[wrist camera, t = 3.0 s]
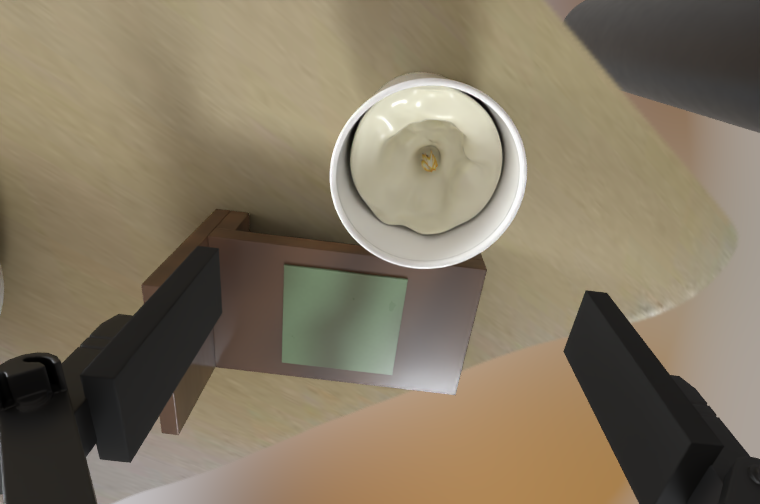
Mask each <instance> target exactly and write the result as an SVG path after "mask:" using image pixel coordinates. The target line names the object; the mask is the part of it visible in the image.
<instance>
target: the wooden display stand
mask: <svg viewBox="0 0 760 504" xmlns="http://www.w3.org/2000/svg"><path fill="white" fill-rule="evenodd" d="M197 246H203V247H212V248H219V260H220V279H221V297H222V314H221V316H220V318H219V319H218V321H217V323H216V324H215V326H214V327H213V329H212V331H211V332H210V334H209V336H208V337H207V339H206V340H205V342H204V344H203V345H202V347H201V349H200V350H199V352H198V353H197V355H196V357H195V358H194V360H193V362H192V363H191V365H190V367H189V368H188V370H187V371H186V373H185V375H184V376H183V378H182V380H181V381H180V383H179V384H178V386H177V388H176V389H175V391H174V393H173V394H172V396H171V397H170V399H169V401H168V402H167V404H166V406H165V407H164V409H163V411H162V412H161V414H160V415H159V416H160V423H161V430H162V433H165V434H174V435H179V433H180V431H181V430H182V428H183V426H184V424H185V422H186V420H187V418H188V417H189V415H190V413H191V411H192V409H193V407H194V405H195V404H196V402H197V400H198V398H199V396H200V394H201V392H202V391H203V389H204V387H205V385H206V383H207V381H208V379H209V378H210V376H211V374H212V372H213V370H214V368H215V366H216V367H219V368H228V369H236V370H245V371H254V372H262V373H271V374H279V375H288V376H297V377H305V378H314V379H322V380H331V381H340V382H348V383H357V384H365V385H374V386H383V387H391V388H400V389H408V390H417V391H426V392H435V393H443V394H452V395H455V394H456V391H457V386H458V383H459V379H460V375H461V371H462V367H463V363H464V359H465V355H466V351H467V347H468V343H469V339H470V335H471V331H472V327H473V323H474V319H475V315H476V311H477V307H478V303H479V299H480V295H481V291H482V287H483V283H484V280H485V276H486V272H487V269H486V266H485V263H484V261H483V258H482V255H481V253H479V254H478V255H476V256H474V257H472V258H470V259H468V260H466V261H463V262H461V263H458V264H455V265H451V266H447V267H442V268H433V269H417V268H409V267H404V266H399V265H396V264H393V263H390V262H387V261H385V260H383V259H381V258H379V257H377V256H375V255H374V254H372V253H370V252H369V251H368V250H366V249H365V248H364V247H362V246H360V245H352V244H344V243H336V242H327V241H319V240H311V239H303V238H294V237H286V236H278V235H270V234H261V233H253V232H250V229H249V213H246V212H237V211H229V210H221V209H216V210H215V211H214V212H213V213H212V214H211V215H210V216H209V217H208V218H207V219H206V220H205V221H204V222H203V223H202V224H201V225H200V226H199V227H198V228H197V229H196V230H195V231H194V232H193V233H192V234H191V235H190V236H189V237H188V238H187V239H186V240H185V241H184V242H183V243H182V244H181V245H180V246H179V247H178V248H177V249H176V250H175V251H174V252H173V253H172V254H171V255H170V256H169V257H168V258H167V259H166V260H165V261H164V262H163V263H162V264H161V265H160V266H159V267H158V268H157V269H156V270H155V271H154V272H153V273H152V274H151V275H150V276H149V277H148V278H147V279H146V280H145V282H144V283H143V284H142V285H141V286H142V293H143V300H144V304H145V302H146V301H147V300H148V299H149V298H150V297H151V296H152V295H153V294H154V293H155V291H156V290H157V289H158V288H159V287H160V286H161V285H162V284H163V283H164V282H165V281H166V279H167V278H168V277H169V276H170V275H171V274H172V273H173V272H174V271H175V270H176V268H177V267H178V266H179V265H180V264H181V263H182V262H183V261H184V260H185V259H186V257H187V256H188V255H189V254H190V253H191V252H192V251H193V250H194V249H195V248H196V247H197Z"/></svg>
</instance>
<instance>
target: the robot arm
mask: <svg viewBox="0 0 760 504" xmlns="http://www.w3.org/2000/svg"><path fill="white" fill-rule="evenodd" d="M221 314H222V297H221V279H220V260H219V248H212V247H203V246H197V247H196V248H195V249H194V250H193V251H192V252H191V253H190V254H189V255H188V256H187V257H186V259H185V260H184V261H183V262H182V263H181V264H180V265H179V266H178V267H177V268H176V270H175V271H174V272H173V273H172V274H171V275H170V276H169V277H168V278H167V279H166V281H165V282H164V283H163V284H162V285H161V286H160V287H159V288H158V289H157V290H156V291H155V293H154V294H153V295H152V296H151V297H150V298H149V299H148V300H147V301H146V302H145V304H144V305H143V306H142V307H141V308H140V309H139V310H138V311H137V312H136V313H135V315H134V316H131V315H122V314H118V315H116V316H114V317H113V318H111V319H109V320H107V321H105V322H103V323H102V324H101V325H100V326H99V327H98V328H97V329H96V330H95V331H94V332H93V333H92V334H91V335H90V337H89V338H87V339H86V340H85V341H84V342H83V343H82V344H81V345H80V348H79V347H78V348H77V349H76V350H75V351H74V352H73V353H72V354H71V355H70V356H69V357H68V358H67V359H66V360H65V361H64V362H63V363H62V364H61V361H60V360H59V359H58V357H57V356H55V355H52V354H49V353H31V354H25V355H21V356H18V357H15V358H13V359H10V360H8V361H6V362H4V363H3V364H1V365H0V494H3V503H4V504H97V500H96V496H95V492H94V488H93V484H92V480H91V476H90V472H89V468H88V464H87V460H86V456H87V455H88V454H89V452H90V451H91V450H92V448H93V447H94V445H95V444H96V445H97V449H98V453H99V457H100V459H102V460H111V461H120V462H130V463H131V461H132V459H133V458H134V456H135V455H136V453H137V451H138V450H139V448H140V446H141V445H142V443H143V441H144V440H145V438H146V437H147V435H148V433H149V432H150V430H151V428H152V427H153V425H154V424H155V422H156V420H157V419H158V417H159V415H160V414H161V412H162V411H163V409H164V407H165V406H166V404H167V402H168V401H169V399H170V397H171V396H172V394H173V393H174V391H175V389H176V388H177V386H178V384H179V383H180V381H181V380H182V378H183V376H184V375H185V373H186V371H187V370H188V368H189V367H190V365H191V363H192V362H193V360H194V358H195V357H196V355H197V353H198V352H199V350H200V349H201V347H202V345H203V344H204V342H205V340H206V339H207V337H208V336H209V334H210V332H211V331H212V329H213V327H214V326H215V324H216V323H217V321H218V319H219V318H220V316H221ZM564 353H565V355H566V357H567V359H568V361H569V363H570V365H571V367H572V369H573V372H574V373H575V376H576V378H577V379H578V382H579V383H580V385H581V388H582V390H583V392H584V394H585V396H586V397H587V399H588V402H589V404H590V406H591V408H592V410H593V412H594V414H595V416H596V417H597V420H598V422H599V424H600V426H601V428H602V430H603V432H604V434H605V436H606V438H607V440H608V442H609V444H610V446H611V448H612V450H613V452H614V454H615V456H616V458H617V460H618V462H619V464H620V466H621V468H622V470H623V472H624V474H625V476H626V478H627V480H628V482H629V484H630V486H631V488H632V490H633V492H634V494H635V496H636V498H637V500H638V502H639V504H760V459H758V458H753V457H750V456H749V454H748V453H747V452H746V451H745V449H744V448H743V447H742V446H741V445H740V443H739V442H738V441H737V440H736V438H735V437H734V436H733V435H732V433H731V432H730V431H729V430H728V428H727V427H726V426H725V425H724V423H723V422H722V421H721V420H720V418H717V417H716V414H715V412H714V411H713V410H712V409H711V407H710V406H707V402H706V401H705V400H704V399H703V398H702V396H701V395H700V394H699V392H698V391H697V390H696V389H695V388H694V387H692V386H691V385H690V384H689V383H687V382H686V381H685V380H683V379H682V378H681V377H680V376H674V375H669V373H668V372H667V371H666V369H665V368H664V367H663V365H662V364H661V363H660V361H659V360H658V359H657V358H656V356H655V355H654V354H653V352H652V351H651V350H650V348H648V346H647V345H646V343H645V342H644V341H643V339H642V338H641V337H640V335H639V334H638V333H637V332H636V330H635V329H634V328H633V326H632V325H631V324H630V322H629V321H628V320H627V318H626V317H625V316H624V314H623V313H622V312H621V311H620V309H619V308H618V307H617V305H616V304H615V303H614V301H613V300H612V299H611V298H610V296H609V295H608V294H607V293H604V292H595V291H585V294H584V297H583V299H582V302H581V305H580V308H579V310H578V313H577V316H576V319H575V321H574V324H573V327H572V330H571V332H570V335H569V338H568V341H567V343H566V346H565V349H564Z"/></svg>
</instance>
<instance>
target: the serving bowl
mask: <svg viewBox="0 0 760 504" xmlns="http://www.w3.org/2000/svg"><path fill="white" fill-rule="evenodd" d="M3 298H4V279H3V272H2V268H1V264H0V314H1V310H2V305H3Z"/></svg>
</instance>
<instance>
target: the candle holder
mask: <svg viewBox="0 0 760 504" xmlns="http://www.w3.org/2000/svg"><path fill="white" fill-rule="evenodd" d="M526 181H527V160H526V153H525V149H524V145H523V142H522V139H521V136H520V134H519V132H518V130H517V128H516V126H515V124H514V122H513V121H512V119H511V118H510V116H509V115H508V114H507V113H506V111H505V110H504V109H503V108H502V107H501V106H500V105H499V104H498V103H497V102H496V101H495V100H493V99H492V98H491V97H489V96H488V95H487V94H485V93H484V92H482V91H480V90H478V89H476V88H474V87H472V86H470V85H467V84H465V83H462V82H458V81H454V80H452V79H449V78H447V77H444V76H441V75H438V74H434V73H429V72H413V73H408V74H404V75H401V76H398V77H396V78H394V79H392V80H390V81H389V82H387V83H386V84H384V85H383V86H382V87H381V88H380V89H379V90H377V91H376V92H375V93H374V95H373V96H372V97H371V98H370V99H368V100H367V101H366V102H365V103H364V104H362V105H361V106H360V107H359V108H358V109H357V110H356V111H355V112H354V114H353V115H352V116H351V117H350V119H349V120H348V121H347V123H346V124H345V126H344V127H343V129H342V131H341V133H340V135H339V137H338V139H337V142H336V144H335V147H334V150H333V154H332V158H331V164H330V189H331V195H332V199H333V203H334V206H335V209H336V211H337V214H338V216H339V218H340V220H341V221H342V223H343V225H344V226H345V228H346V229H347V231H348V232H349V233H350V235H351V236H352V237H353V238H354V239H355V240H356V241H357V242H358V243H359V244H360V245H361V246H362V247H364V248H365V249H366V250H368V251H369V252H370V253H372V254H374V255H375V256H377V257H379V258H381V259H383V260H385V261H387V262H390V263H393V264H396V265H399V266H404V267H409V268H417V269H433V268H442V267H447V266H451V265H455V264H458V263H461V262H463V261H466V260H468V259H470V258H472V257H474V256H476V255H478V254H479V253H481V252H482V251H484V250H485V249H487V248H488V247H489V246H491V245H492V244H493V243H494V242H495V241H496V240H497V239H498V238H499V237H500V236H501V235H502V234H503V233H504V232H505V231H506V229H507V228H508V227H509V225H510V224H511V222H512V221H513V219H514V217H515V216H516V214H517V212H518V210H519V207H520V205H521V202H522V199H523V196H524V192H525V188H526Z"/></svg>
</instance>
